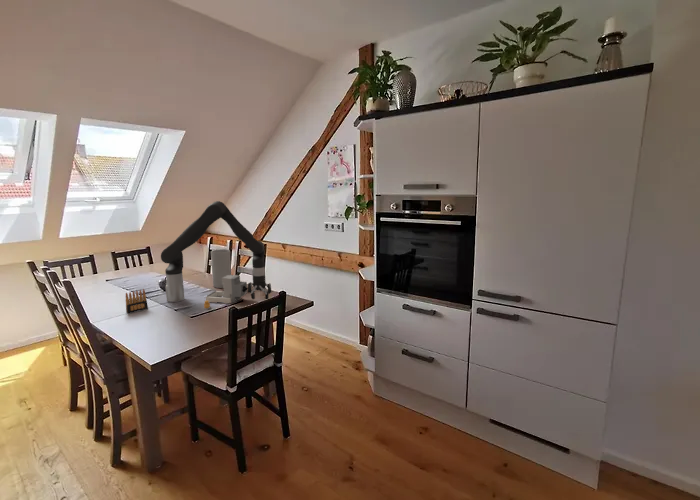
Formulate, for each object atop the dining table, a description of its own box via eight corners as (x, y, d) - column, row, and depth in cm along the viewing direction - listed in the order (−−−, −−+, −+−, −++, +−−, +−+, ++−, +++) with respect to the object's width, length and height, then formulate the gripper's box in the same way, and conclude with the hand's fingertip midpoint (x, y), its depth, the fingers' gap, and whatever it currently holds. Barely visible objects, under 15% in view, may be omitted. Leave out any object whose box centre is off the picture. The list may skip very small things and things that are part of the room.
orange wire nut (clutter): (203, 308, 209) (202, 301, 208) (206, 306, 212) (205, 300, 211) (208, 308, 209) (207, 302, 208) (211, 306, 212) (210, 300, 211)
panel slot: (206, 301, 220) (205, 295, 219) (216, 295, 232) (215, 290, 231) (230, 303, 217) (230, 297, 217) (239, 297, 229) (239, 291, 228)
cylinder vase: (228, 288, 247) (226, 253, 242) (210, 288, 247) (207, 252, 242) (234, 283, 259) (232, 249, 254) (217, 283, 259) (214, 249, 254)
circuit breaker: (244, 303, 218) (242, 279, 215) (222, 301, 221) (221, 277, 218) (249, 299, 225) (248, 276, 222) (229, 297, 228) (227, 274, 225)
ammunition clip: (127, 313, 200) (125, 293, 197) (126, 312, 201) (123, 292, 199) (148, 308, 208) (145, 288, 205) (146, 308, 209) (144, 288, 207)
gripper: (245, 275, 215) (246, 300, 218) (267, 276, 212) (268, 302, 216) (250, 271, 222) (251, 296, 225) (272, 273, 220) (273, 298, 223)
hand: (260, 299), depth 220 cm, fingers open, 8 cm apart
